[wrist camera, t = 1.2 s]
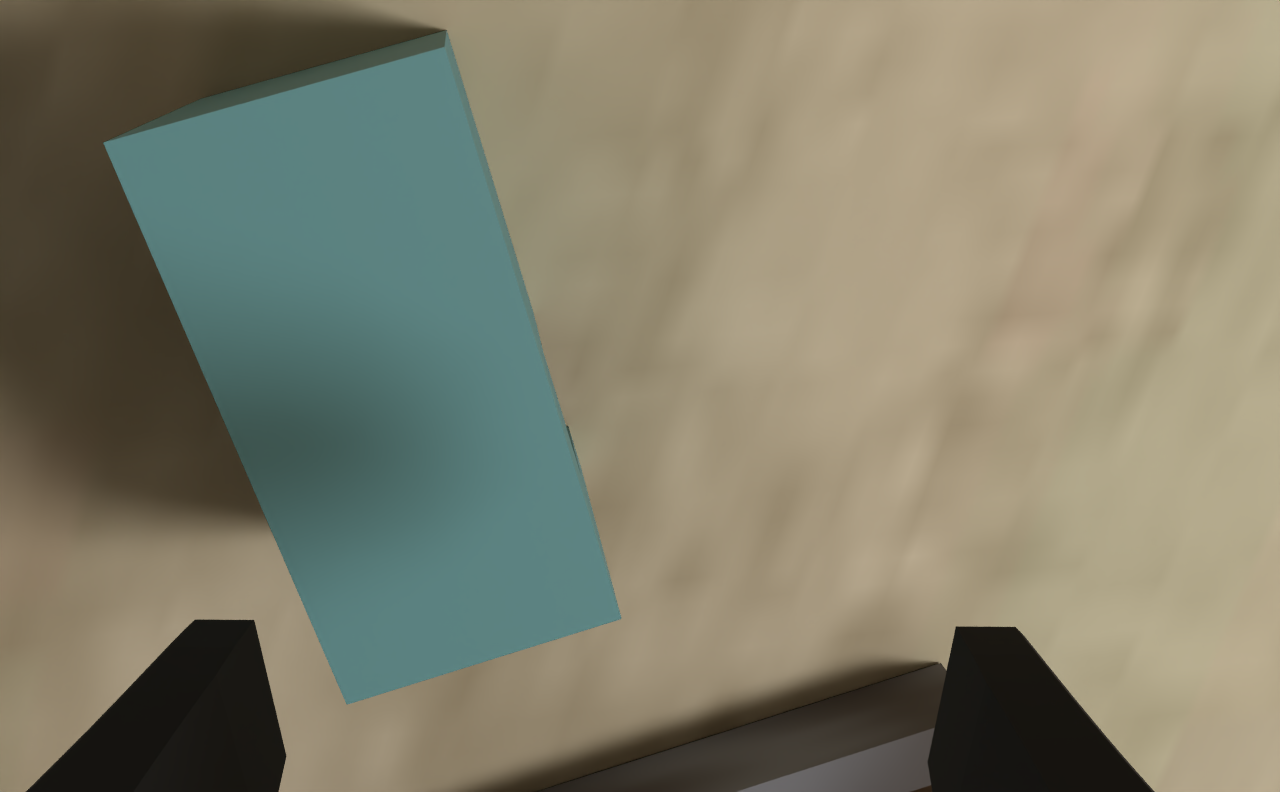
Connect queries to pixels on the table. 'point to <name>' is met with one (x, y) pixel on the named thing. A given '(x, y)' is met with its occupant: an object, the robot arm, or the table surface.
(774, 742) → the brown wooden ledge block
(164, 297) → the table surface
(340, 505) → the teal rectangular block
